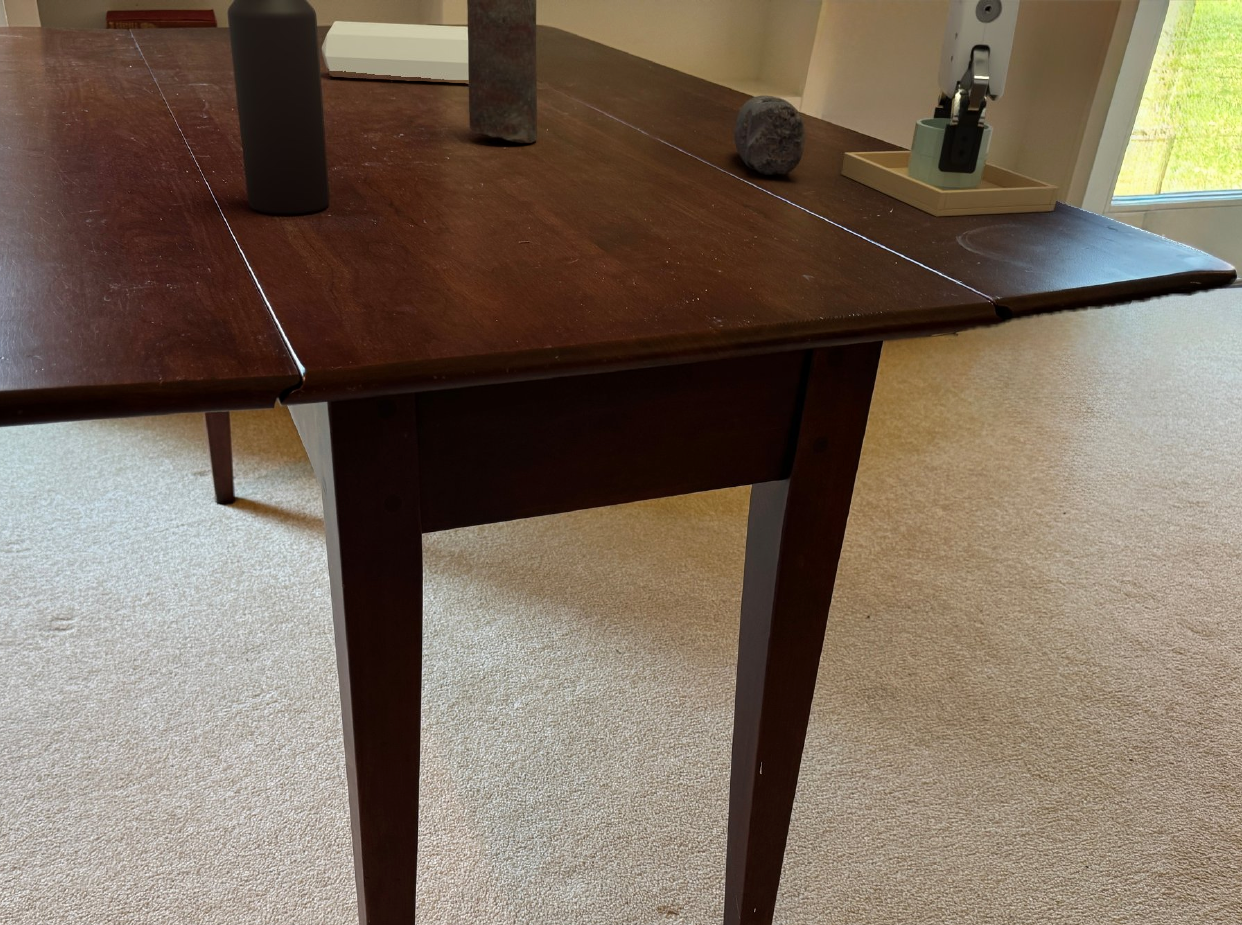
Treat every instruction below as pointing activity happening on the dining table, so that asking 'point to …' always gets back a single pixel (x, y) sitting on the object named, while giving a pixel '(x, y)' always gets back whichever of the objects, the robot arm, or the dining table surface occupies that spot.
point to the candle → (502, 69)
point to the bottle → (280, 105)
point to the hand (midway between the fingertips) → (949, 161)
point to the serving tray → (988, 198)
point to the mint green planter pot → (928, 156)
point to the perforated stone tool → (769, 135)
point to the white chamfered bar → (398, 50)
